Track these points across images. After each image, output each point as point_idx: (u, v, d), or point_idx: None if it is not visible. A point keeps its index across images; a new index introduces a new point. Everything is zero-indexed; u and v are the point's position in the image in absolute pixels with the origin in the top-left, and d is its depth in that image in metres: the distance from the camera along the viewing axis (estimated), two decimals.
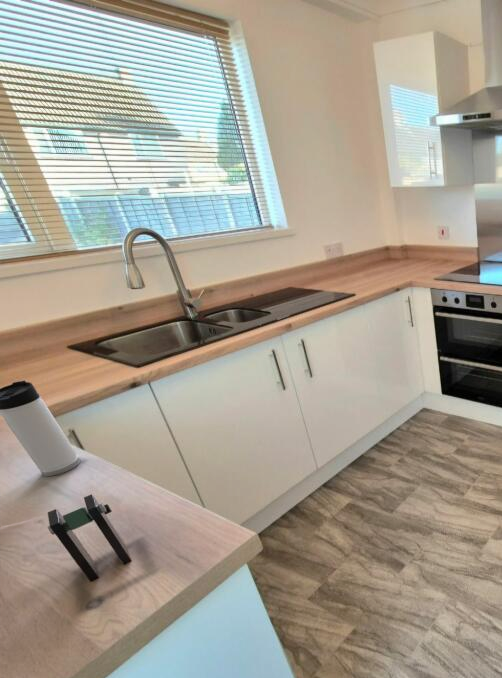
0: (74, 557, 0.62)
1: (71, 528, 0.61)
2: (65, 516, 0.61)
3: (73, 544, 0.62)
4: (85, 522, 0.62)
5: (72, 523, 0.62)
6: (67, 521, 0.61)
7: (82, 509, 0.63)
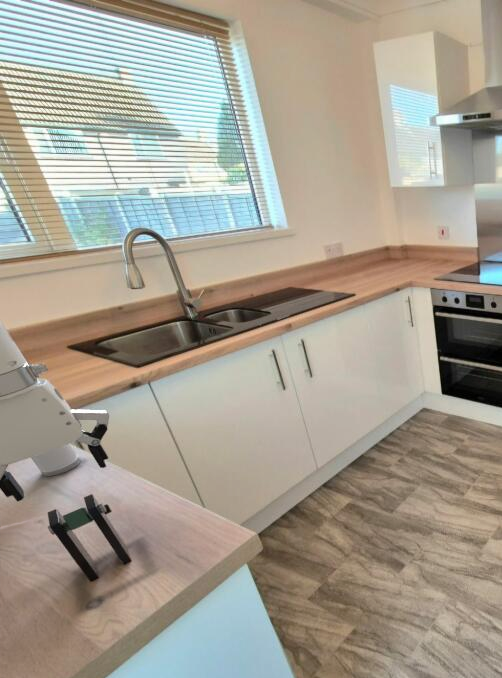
0: (74, 557, 0.62)
1: (71, 528, 0.61)
2: (65, 516, 0.61)
3: (73, 544, 0.62)
4: (85, 522, 0.62)
5: (72, 523, 0.62)
6: (67, 521, 0.61)
7: (82, 509, 0.63)
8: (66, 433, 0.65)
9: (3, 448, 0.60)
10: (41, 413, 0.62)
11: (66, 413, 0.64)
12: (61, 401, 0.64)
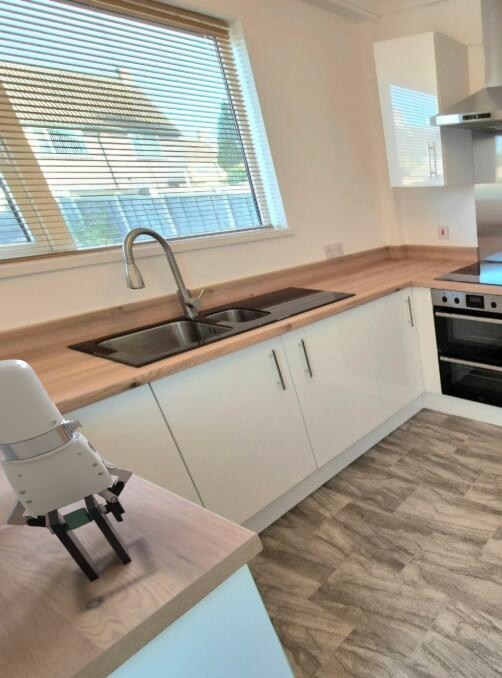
0: (74, 557, 0.62)
1: (71, 528, 0.61)
2: (65, 516, 0.61)
3: (73, 544, 0.62)
4: (85, 522, 0.62)
5: (72, 523, 0.62)
6: (67, 521, 0.61)
7: (82, 509, 0.63)
8: (98, 483, 0.69)
9: (41, 500, 0.65)
10: (76, 466, 0.67)
11: (98, 464, 0.69)
12: (94, 453, 0.69)
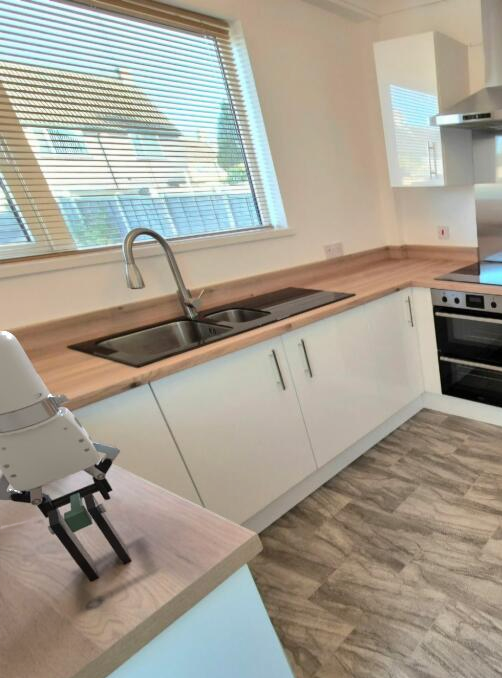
0: (74, 557, 0.62)
1: (73, 531, 0.62)
2: (67, 520, 0.61)
3: (73, 544, 0.62)
4: (87, 525, 0.63)
5: (74, 526, 0.62)
6: (69, 524, 0.61)
7: (84, 512, 0.62)
8: (84, 459, 0.69)
9: (26, 474, 0.64)
10: (62, 441, 0.66)
11: (85, 440, 0.68)
12: (80, 429, 0.68)
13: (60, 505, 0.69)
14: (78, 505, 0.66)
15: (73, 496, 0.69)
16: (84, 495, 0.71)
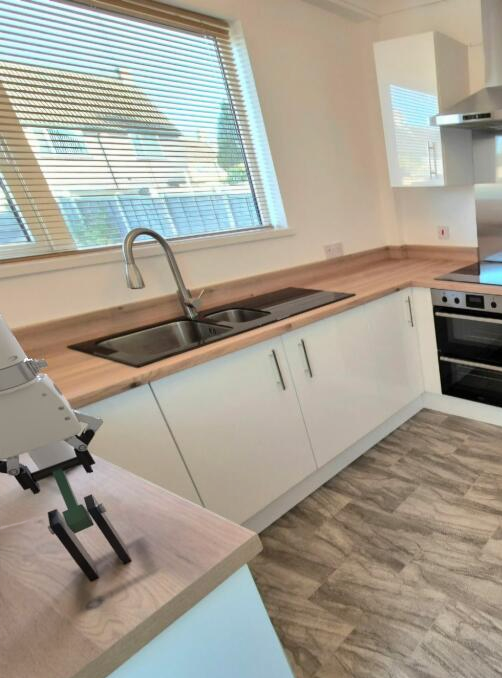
0: (74, 557, 0.62)
1: (75, 532, 0.62)
2: (70, 525, 0.61)
3: (73, 544, 0.62)
4: (89, 526, 0.63)
5: (76, 529, 0.62)
6: (72, 528, 0.62)
7: (87, 518, 0.62)
8: (65, 428, 0.65)
9: (2, 442, 0.61)
10: (40, 408, 0.62)
11: (65, 408, 0.65)
12: (60, 396, 0.64)
13: (41, 479, 0.66)
14: (71, 496, 0.65)
15: (57, 474, 0.66)
16: (66, 470, 0.68)
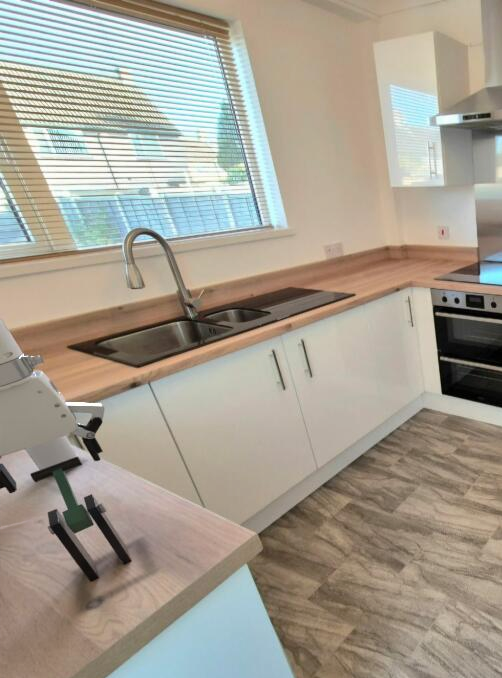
0: (74, 557, 0.62)
1: (75, 532, 0.62)
2: (70, 525, 0.61)
3: (73, 544, 0.62)
4: (89, 526, 0.63)
5: (76, 529, 0.62)
6: (72, 528, 0.62)
7: (87, 518, 0.62)
8: (61, 425, 0.64)
9: None
10: (36, 405, 0.62)
11: (61, 405, 0.64)
12: (56, 393, 0.64)
13: (41, 479, 0.66)
14: (71, 496, 0.65)
15: (57, 475, 0.66)
16: (67, 470, 0.68)
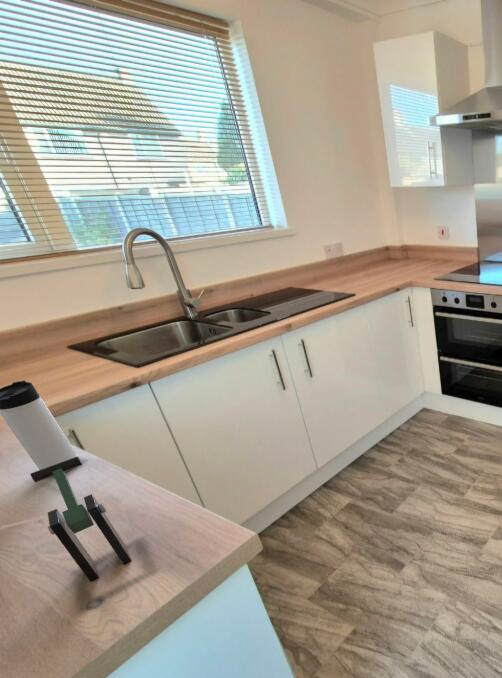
0: (74, 557, 0.62)
1: (75, 532, 0.62)
2: (70, 525, 0.61)
3: (73, 544, 0.62)
4: (89, 526, 0.63)
5: (76, 529, 0.62)
6: (72, 528, 0.62)
7: (87, 518, 0.62)
8: None
9: None
10: None
11: None
12: None
13: (41, 479, 0.66)
14: (71, 496, 0.65)
15: (57, 475, 0.66)
16: (67, 470, 0.68)
